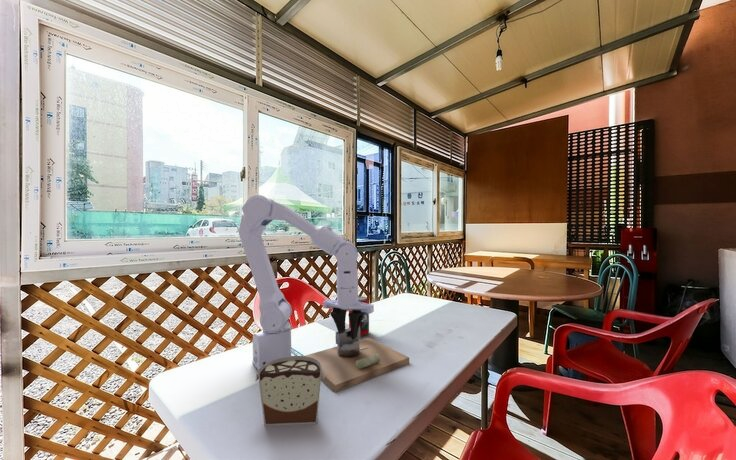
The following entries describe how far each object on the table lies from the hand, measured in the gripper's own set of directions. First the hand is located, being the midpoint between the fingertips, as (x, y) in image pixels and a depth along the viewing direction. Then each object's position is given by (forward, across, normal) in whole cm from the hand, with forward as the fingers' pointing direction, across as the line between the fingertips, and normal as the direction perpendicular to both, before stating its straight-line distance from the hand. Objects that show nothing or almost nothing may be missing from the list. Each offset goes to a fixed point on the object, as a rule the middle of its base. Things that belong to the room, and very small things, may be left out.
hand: (348, 337), depth 79 cm
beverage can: (+6, +6, -18) cm, 20 cm away
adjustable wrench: (+6, +19, +1) cm, 20 cm away
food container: (+6, -2, +25) cm, 26 cm away
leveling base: (+6, -3, +1) cm, 7 cm away
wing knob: (+4, 0, 0) cm, 4 cm away
